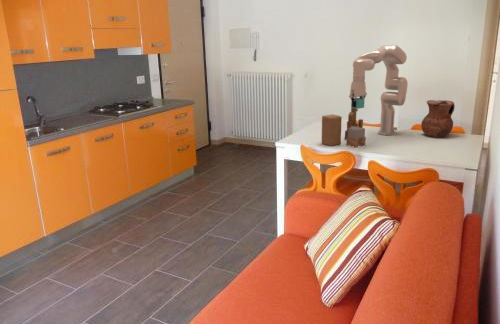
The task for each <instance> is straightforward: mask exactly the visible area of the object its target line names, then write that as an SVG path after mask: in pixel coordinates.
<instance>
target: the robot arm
mask: <svg viewBox="0 0 500 324" xmlns="http://www.w3.org/2000/svg"><path fill="white" fill-rule="evenodd" d="M382 61H383V64H384V66H385V68H386V71H385V72H386V73H385V80H384V87H385V89H386V90H388V91H385V92H382V94H381V95H380V102H381V103H380V104H381V112H380V128H379V130H378V131H377V134H379V135H381V136H394V135H396V131H397V130H398V127H397V126H395V110H396V109H395V108H394V106H399V107H400V106H403V105H405V101H406V98H407V93H408V91H407V90H408V86H409V83H408V80H407V78H406V77H402V76H401V77H399V72H400V69H399V67H398V65H404V64H405V63H407V62H406V61H407V54H406V52H405V51H404V50H403V49H402V48H401V47H400V46H399V45H396V44H395V45H394V44H385V45H381V46H380V47H379V48H377V49H375V50H374V51H372V52H368V53H365V54H362V55H359V56H358V57H356V58H355V59H354V61H353V63H352V69H353V71H352V81H351V85H350V91H349V95H348V98H349V99H350V100H351V101H352V107H356V98H363V99H365V98H366V97H367V95H368V93H367V92H366V90H367V88H366V81H365V79H366V72H367V71H369V72H370V71H372V70H374V68H375V66H376V64H380V63H381V62H382ZM389 90H391V91H389ZM394 126H395V127H394Z"/></svg>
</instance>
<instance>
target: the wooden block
mask: <svg viewBox="0 0 500 324" xmlns="http://www.w3.org/2000/svg"><path fill="white" fill-rule="evenodd" d="M341 143H342V116H341V115H338V114H327V115H322V117H321V144H323V145H326V146H329V147H332V146H339V145H340V144H341Z"/></svg>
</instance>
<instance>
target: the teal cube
mask: <svg viewBox="0 0 500 324" xmlns="http://www.w3.org/2000/svg"><path fill="white" fill-rule="evenodd" d="M365 100H366V99H365V98H364V99H363V98H360V97H357V98H356V107H352V101H351V102H350V109H351V108H356V109H357V110H358V109H359V110H360V109H365Z"/></svg>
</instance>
